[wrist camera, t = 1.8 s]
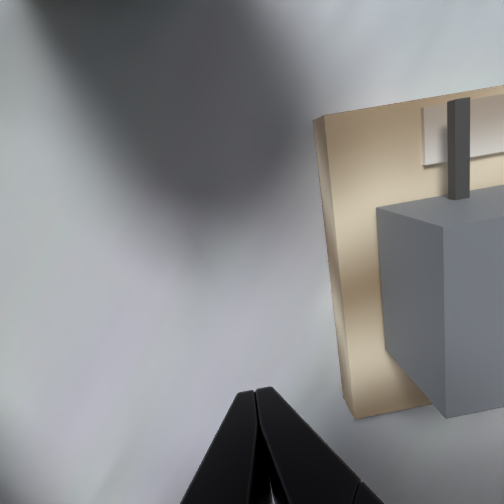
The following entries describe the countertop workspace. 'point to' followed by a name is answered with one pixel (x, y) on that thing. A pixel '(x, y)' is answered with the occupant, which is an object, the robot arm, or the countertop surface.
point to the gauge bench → (365, 221)
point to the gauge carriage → (447, 284)
